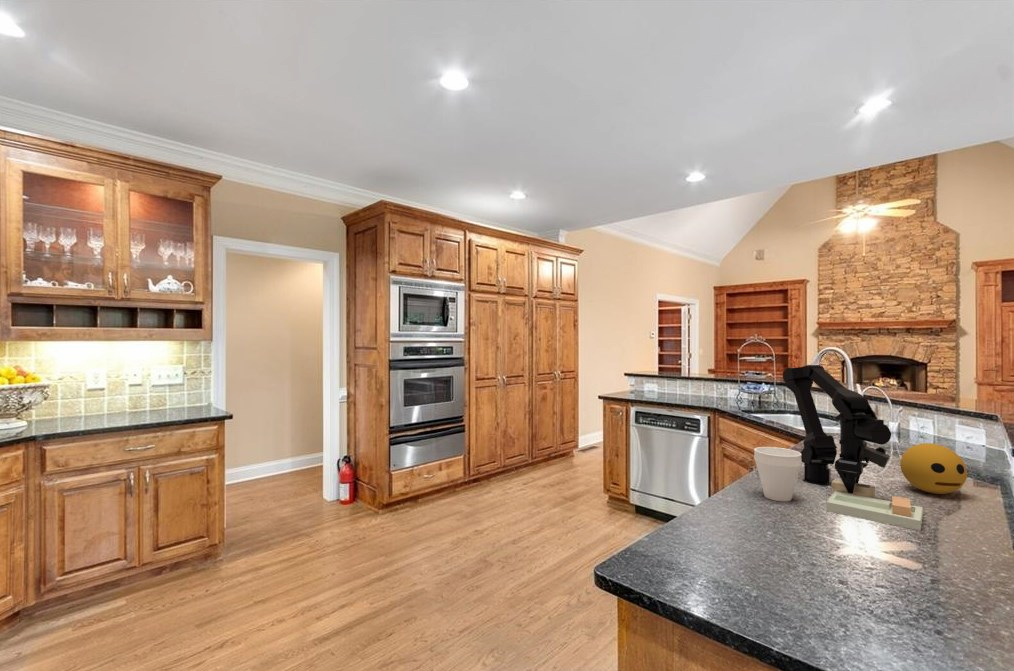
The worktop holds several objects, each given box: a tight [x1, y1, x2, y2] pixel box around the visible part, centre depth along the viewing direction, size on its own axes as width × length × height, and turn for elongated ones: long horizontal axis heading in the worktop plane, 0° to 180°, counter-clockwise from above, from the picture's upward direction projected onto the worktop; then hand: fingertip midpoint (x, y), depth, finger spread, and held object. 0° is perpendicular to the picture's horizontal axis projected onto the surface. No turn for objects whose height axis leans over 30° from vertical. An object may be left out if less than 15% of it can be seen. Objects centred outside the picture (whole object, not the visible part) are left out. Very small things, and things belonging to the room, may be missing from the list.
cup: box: [753, 446, 803, 502], centre depth 135 cm, size 12×12×14 cm
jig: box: [826, 491, 924, 532], centre depth 122 cm, size 19×13×2 cm
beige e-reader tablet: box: [830, 479, 876, 499], centre depth 136 cm, size 10×4×4 cm, turn 46°
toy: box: [899, 442, 968, 495], centre depth 140 cm, size 15×15×15 cm
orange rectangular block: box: [891, 495, 911, 517], centre depth 118 cm, size 4×9×4 cm, turn 140°
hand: (852, 489), depth 136 cm, fingers open, 9 cm apart
